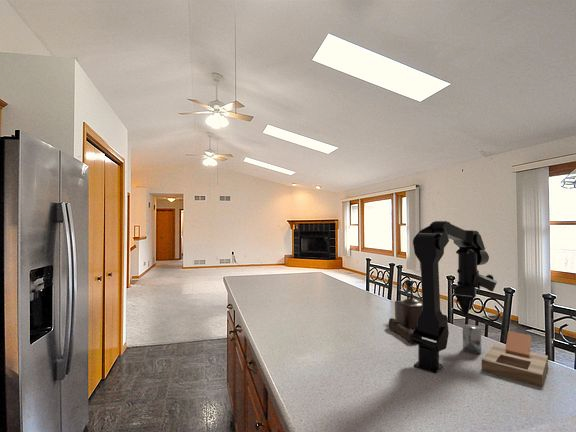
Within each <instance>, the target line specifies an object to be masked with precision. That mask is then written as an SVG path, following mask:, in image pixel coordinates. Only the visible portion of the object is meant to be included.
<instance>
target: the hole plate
mask: <svg viewBox="0 0 576 432" xmlns="http://www.w3.org/2000/svg"><path fill="white" fill-rule="evenodd" d="M505 348H506V345H499V344H496V343H494V344H493V345H492V346H491V348H489V350H488V351H487V353H486V354H485V355H484V356H483V358H482V359H481V371H484V372H487V373H492V374H494V375H499V376H502V377H505V378H509V379H513V380H516V381H520V382H524V383H528V384H532V385H533V386H534V385H535V386H539V387H543V385H544V382H545V379H546V375H547V370H548V367H549V355H546V354H541V353H537V352H532V351H530V356H529V357H528V356H523V355H519V354H514V353H510V352H506V351H505Z"/></svg>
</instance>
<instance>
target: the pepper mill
mask: <svg viewBox="0 0 576 432" xmlns="http://www.w3.org/2000/svg"><path fill="white" fill-rule="evenodd" d="M413 284H414V281H413V280H412V279H409V278H408V279H406V280H404V285H405V286H406V289H405V290H403V292H405V293H410V295H409V296H410V297H408V298H406V299H404V300H396V301H394V319H396V320H397V321H399V324H400V325H402V326H403V327H405V328H407V329H409V330H414V329H415V327H416V325H417V318H418V316H419V315H420V313H421V312H422V300H420V297H418V298H415V297H414V296H413V295H414V294H413V293H414V287H413Z"/></svg>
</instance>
